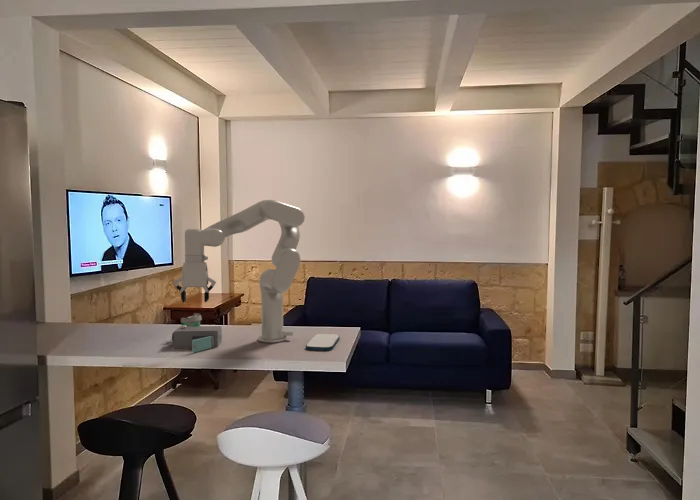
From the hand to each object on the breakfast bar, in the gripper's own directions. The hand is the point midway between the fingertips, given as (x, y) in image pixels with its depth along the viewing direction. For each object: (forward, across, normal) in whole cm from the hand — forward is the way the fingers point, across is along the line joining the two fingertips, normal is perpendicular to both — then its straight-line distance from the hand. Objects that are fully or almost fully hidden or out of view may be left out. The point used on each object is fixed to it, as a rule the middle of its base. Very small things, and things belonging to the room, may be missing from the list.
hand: (195, 301), depth 206 cm
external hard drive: (+21, -53, -7) cm, 57 cm away
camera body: (+20, +1, -9) cm, 22 cm away
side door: (+20, -3, +1) cm, 20 cm away
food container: (+20, +6, -23) cm, 31 cm away
